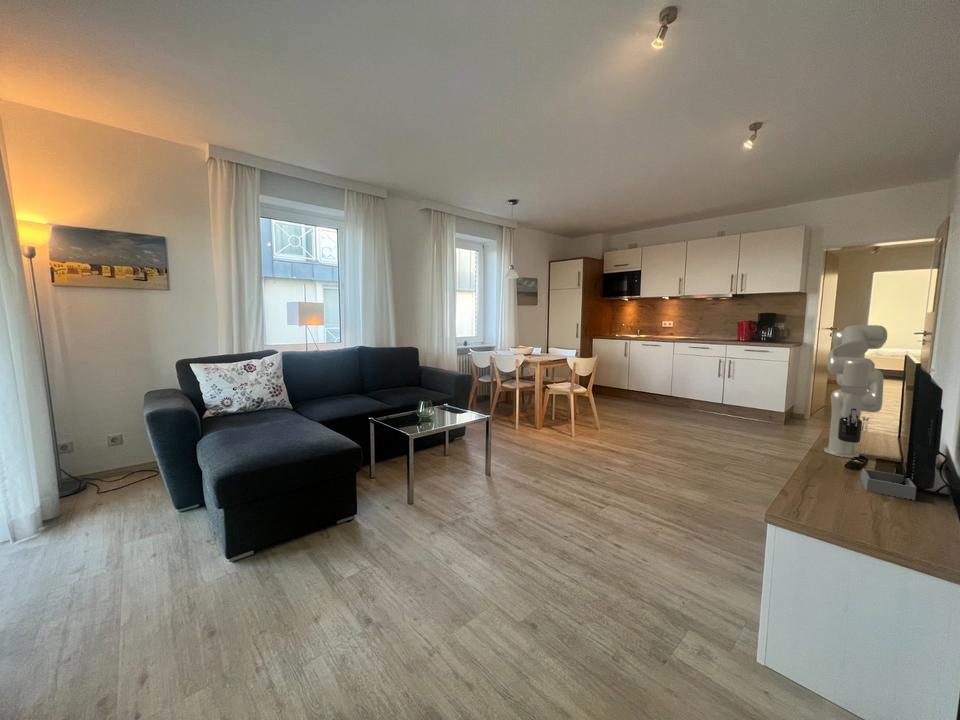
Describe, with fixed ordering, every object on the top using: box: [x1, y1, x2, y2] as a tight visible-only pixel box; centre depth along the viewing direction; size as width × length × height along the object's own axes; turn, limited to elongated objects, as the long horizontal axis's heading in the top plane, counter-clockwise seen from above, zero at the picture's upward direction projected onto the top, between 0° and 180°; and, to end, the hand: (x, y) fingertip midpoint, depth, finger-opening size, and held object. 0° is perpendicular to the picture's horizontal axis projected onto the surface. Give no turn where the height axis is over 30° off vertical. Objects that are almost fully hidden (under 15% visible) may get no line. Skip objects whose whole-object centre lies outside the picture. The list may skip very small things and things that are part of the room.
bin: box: [860, 468, 917, 501], centre depth 150 cm, size 13×13×5 cm
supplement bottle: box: [838, 416, 863, 444], centre depth 158 cm, size 7×7×12 cm
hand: (849, 432), depth 158 cm, fingers closed on supplement bottle, 6 cm apart
